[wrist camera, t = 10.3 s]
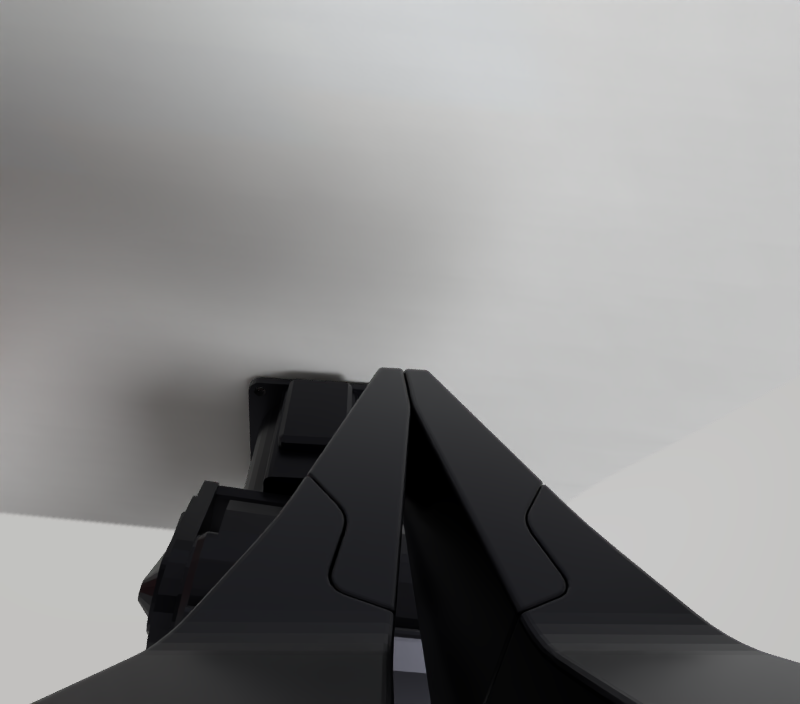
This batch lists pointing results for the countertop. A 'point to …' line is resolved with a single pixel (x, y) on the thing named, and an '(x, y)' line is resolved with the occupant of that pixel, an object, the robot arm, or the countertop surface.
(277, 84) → the countertop surface
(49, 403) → the countertop surface
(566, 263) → the countertop surface
